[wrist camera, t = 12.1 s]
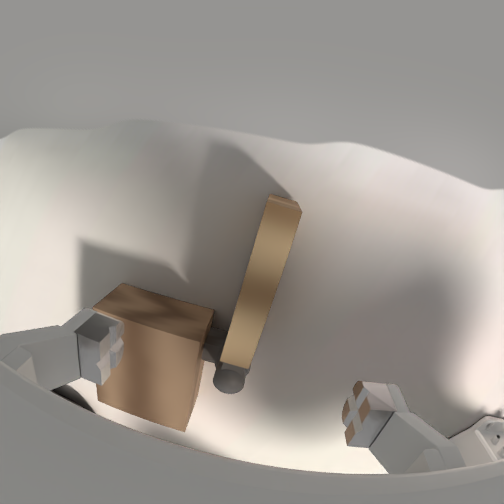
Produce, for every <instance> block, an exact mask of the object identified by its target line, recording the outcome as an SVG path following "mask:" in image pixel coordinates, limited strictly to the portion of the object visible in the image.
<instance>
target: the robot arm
mask: <svg viewBox="0 0 504 504" xmlns="http://www.w3.org/2000/svg"><path fill="white" fill-rule="evenodd" d="M123 334H124V323H123V322H122V321H120V320H117V319H115V318H112V317H109V316H107V315H104V314H102V313H99V312H97V311H94V310H92V309H89V308H84V309H82V310H81V311H80V312H79V313H77V314H76V315H75V316H74V317H72V318H71V319H70V320H69V321H67V322H66V323H65V324H64V325H62V326H58V325H56V326H50V327H44V328H38V329H32V330H26V331H20V332H13V333H7V334H2V335H0V504H504V419H500V418H496V417H491V416H486V417H484V418H482V419H481V420H479V421H478V422H477V423H476V424H474V425H473V426H472V427H470V428H469V429H467V430H465V431H463V432H461V433H459V434H457V435H456V436H454V437H452V438H451V439H449V440H448V439H447V438H446V437H444V436H443V435H442V434H440V433H439V432H438V431H436V430H435V429H434V428H433V427H431V426H430V425H429V424H427V423H426V422H425V421H423V420H422V419H421V418H420V417H418V416H417V415H416V414H415V413H410V410H409V408H408V406H407V404H406V401H405V399H404V397H403V395H402V393H401V390H400V388H399V386H398V385H396V384H388V383H375V382H367V381H358V382H357V383H356V384H355V386H354V387H353V393H354V395H352V396H351V397H349V398H348V399H347V401H346V403H345V404H344V407H343V411H342V421H343V424H344V425H345V426H346V427H347V429H346V431H345V437H346V443H347V446H352V447H364V448H369V450H370V451H371V452H372V454H373V455H374V456H375V457H376V459H377V460H378V461H379V462H380V463H381V465H382V466H383V467H384V468H385V469H386V471H387V472H388V473H389V474H342V473H326V472H314V471H304V470H296V469H288V468H281V467H274V466H268V465H262V464H256V463H251V462H245V461H240V460H236V459H231V458H226V457H222V456H218V455H214V454H210V453H206V452H202V451H198V450H195V449H191V448H188V447H184V446H181V445H177V444H174V443H171V442H168V441H165V440H162V439H159V438H156V437H153V436H150V435H147V434H144V433H142V432H139V431H136V430H133V429H131V428H128V427H126V426H123V425H121V424H118V423H116V422H113V421H111V420H109V419H106V418H104V417H102V416H99V415H97V414H95V413H93V412H91V411H89V410H86V409H84V408H82V407H80V406H78V405H76V404H74V403H72V402H70V401H68V400H66V399H64V398H62V397H60V396H58V395H57V394H55V393H53V392H51V391H50V390H53V389H55V388H58V387H60V386H63V385H65V384H68V383H70V382H72V381H75V380H77V379H80V377H82V378H84V379H87V380H89V381H91V382H94V383H96V384H99V385H101V386H102V385H103V384H104V382H105V381H106V380H107V379H108V377H109V376H110V369H112V368H115V367H117V365H118V364H119V363H120V360H121V358H122V356H123V351H124V342H123V341H122V339H121V336H122V335H123Z"/></svg>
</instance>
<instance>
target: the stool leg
mask: <svg viewBox="0 0 504 504" xmlns="http://www.w3.org/2000/svg"><path fill="white" fill-rule="evenodd" d="M301 214H302V211H301V209H300V207H299V205H298V203H297V202H295V201H292V200H289V199H286V198H282V197H279V196H276V195H272V194H269V197H268V200H267V203H266V206H265V210H264V213H263V216H262V220H261V223H260V226H259V230H258V233H257V237H256V240H255V243H254V247H253V250H252V254H251V257H250V260H249V264H248V267H247V270H246V274H245V277H244V281H243V284H242V287H241V291H240V294H239V298H238V301H237V304H236V308H235V311H234V314H233V318H232V321H231V325H230V328H229V331H228V335H227V338H226V342H225V345H224V348H223V352H222V355H221V358H220V361H219V362H218V365H217V368H216V372H215V375H214V378H213V383H214V386H215V387H216V388H217V389H218V390H219V391H221V392H223V393H227V394H234V393H237V392H239V391H241V390H242V388H243V386H244V381H245V376H246V370H247V369H249V367H250V364H251V361H252V358H253V356H254V353H255V350H256V347H257V345H258V342H259V339H260V336H261V333H262V331H263V328H264V325H265V322H266V319H267V316H268V313H269V311H270V308H271V305H272V302H273V299H274V296H275V293H276V290H277V287H278V284H279V281H280V278H281V275H282V272H283V269H284V266H285V263H286V260H287V257H288V254H289V251H290V248H291V245H292V242H293V239H294V236H295V233H296V230H297V227H298V224H299V220H300V217H301Z"/></svg>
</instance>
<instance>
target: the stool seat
mask: <svg viewBox="0 0 504 504" xmlns="http://www.w3.org/2000/svg"><path fill="white" fill-rule="evenodd" d="M93 310H94V311H97V312H99V313H102V314H104V315H107V316H109V317H112V318H115V319H117V320H120V321H122V322H123V323H124V334H123V335H122V336H121V339H122V341H123V342H124V351H123V356H122V358H121V360H120V363H119V364H118V365H117V367H115V368H112V369H110V376H109V377H108V379H107V380H106V381H105V382H104V384H103V385H102V386H101V385H99V384H96V387H97V396H98V401H100V402H102V403H105V404H107V405H109V406H112V407H114V408H117V409H119V410H122V411H124V412H127V413H130V414H132V415H135V416H138V417H140V418H143V419H146V420H149V421H152V422H154V423H157V424H160V425H163V426H167V427H170V428H173V429H176V430H179V431H183V432H185V430H186V427H187V424H188V422H189V419H190V416H191V413H192V410H193V407H194V405H195V402H196V399H197V396H198V391H199V385H200V380H201V375H202V370H203V365H204V360H205V361H209V362H213V363H215V367H216V368H217V365H218V362H219V361H220V358H221V355H222V352H223V348H224V345H225V342H226V338H227V335H228V332H227V331H224V330H220V329H216V328H212V327H211V324H212V320H213V315H214V310H212V309H209V308H205V307H201V306H198V305H194V304H190V303H187V302H183V301H180V300H176V299H173V298H169V297H166V296H163V295H159V294H156V293H152V292H149V291H146V290H143V289H139V288H136V287H133V286H130V285H127V284H123V283H122V284H120V285H119V286H118V287H117V288H115V289H114V290H113V291H112V292H111V293H109V294H108V295H107V296H106V297H104V298H103V299H102V300H101V301H100V302H98V303H97V304H96V305H95V306H93ZM250 366H251V364H250ZM249 371H250V367H249V369H247V370H246V375H247V374H248V373H249Z"/></svg>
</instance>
